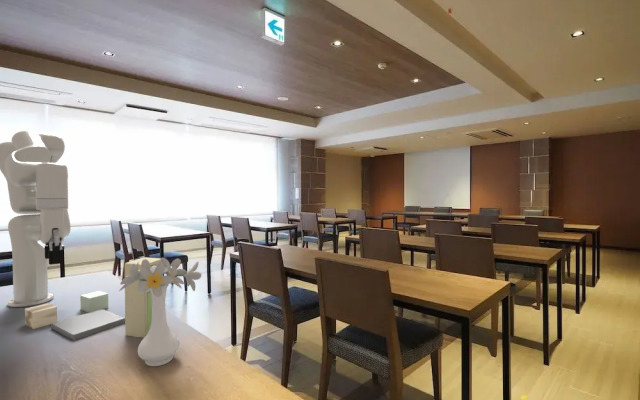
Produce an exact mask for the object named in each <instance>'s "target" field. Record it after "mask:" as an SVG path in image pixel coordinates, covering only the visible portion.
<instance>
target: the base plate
mask: <svg viewBox="0 0 640 400" xmlns="http://www.w3.org/2000/svg"><path fill="white" fill-rule="evenodd" d="M123 324H125V317H124V316H121V315H119V314H116V313H114V312H111V311H108V310H105V309H100V310H96V311H93V312H89V313H88V312H86V313H83V314H79V315H76V316H71V317H69V318H65V319H62V320H59V321H58V320H57V322H55V323H51V324H50V325H51V326H50V327H51V330H53V331H56V333H59V334H61V335H62V336H65V337H67V338H69V339H71V340H72V341H75V340H78V339H81V338H84V337H87V336H90V335H94V334H96V333H99V332H102V331H105V330H108V329H111V328H114V327H116V326H120V325H123Z"/></svg>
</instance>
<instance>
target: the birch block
mask: <svg viewBox="0 0 640 400" xmlns="http://www.w3.org/2000/svg"><path fill="white" fill-rule="evenodd" d="M24 322H25V325H26V326H27V327H29V328H30V329H32V330H35V329H38V328H41V327H44V326H45V327H46V326H49V325H51V323H55V322H58V306H56V305H54V304H52V303H50V302H46V303H41V304H37V305H33V306H29V307H25V308H24Z"/></svg>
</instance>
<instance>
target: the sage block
mask: <svg viewBox="0 0 640 400" xmlns="http://www.w3.org/2000/svg"><path fill="white" fill-rule="evenodd" d="M79 298H80V311H81V310H82V311H84V312H86V313H89V312H93V311H96V310H100V309H103V310H105V309H107V308H109V293H108V292H105V291H102V290H96V291H92V292H88V293H83V294H81V295H80V297H79Z"/></svg>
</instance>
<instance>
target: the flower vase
mask: <svg viewBox="0 0 640 400" xmlns="http://www.w3.org/2000/svg"><path fill="white" fill-rule="evenodd" d="M160 259H161V262H162V264H161V263H157V264H155V265H154V266H152V267H151V266H150V263H149V261H148V260H146V259H144V260H143V261H142V263H141V267H142V269H141V270H138V264H139V262H138V263H137V265H136V267H135V264H133V265H132V267H131V270H130V276H127V277H126V278H125V277H124V278H123V279H122V280H121V281H120V285H123V286H122V287H121V288H119V291H118V292H121V291H122V290H123V289H124V290H125V287H127V286H128V285H130V284H132V283H134V282H135V281H137V280H139V282H138V288H137V290H138V291H139V292H143V291H146V290H148V289H150V292H151V297H152V320H151V326H150V329H149V332H148V334H147V335H146V336H145V337H142V340H141V341H140V343H139V345H138V347H137V355H138V357H139V358H141V360H142V361H144V363H145V365H146V366H148V367H160V366H164V365H166V364H168V363H169V362H171V360H172V359H173V357H174V355H175V354H176V353H177V352H178V351H179V348H180V344H181V343H180V340H179V337H178V336H177V334H175V333H174V332H173V331H172V330H171V329H170V327H169V325H168V323H167V322H168V321H167V312H166V296H167V291H168V290H167V289H168V287H169V285H170V284H173V285H175V286H176V287H178V288H179V289H180V290H181V289H183V288H182V285H184V284H185V282H184V281H183V280H182V278H180V277H184V278H185V280H186V286H187V287H189V286H190V288H191V290H192V292H195V291H196V283H195V281H197V280H200V279H201V278H202V273H201V272H200V271H197V269H198V268H199V261H196V262H195V263H194V265H193V266H189V268H188V270H186V269H183V268H179V267H180V266H181V263H182V260H181V259H180V258H176V259H174V260H172V262H171V263H170V262H169V260H168V259H167V258H165V257H161V258H160ZM162 275H163V276H162ZM161 276H162V277H161ZM140 278H141V279H140ZM126 283H127V284H126Z"/></svg>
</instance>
